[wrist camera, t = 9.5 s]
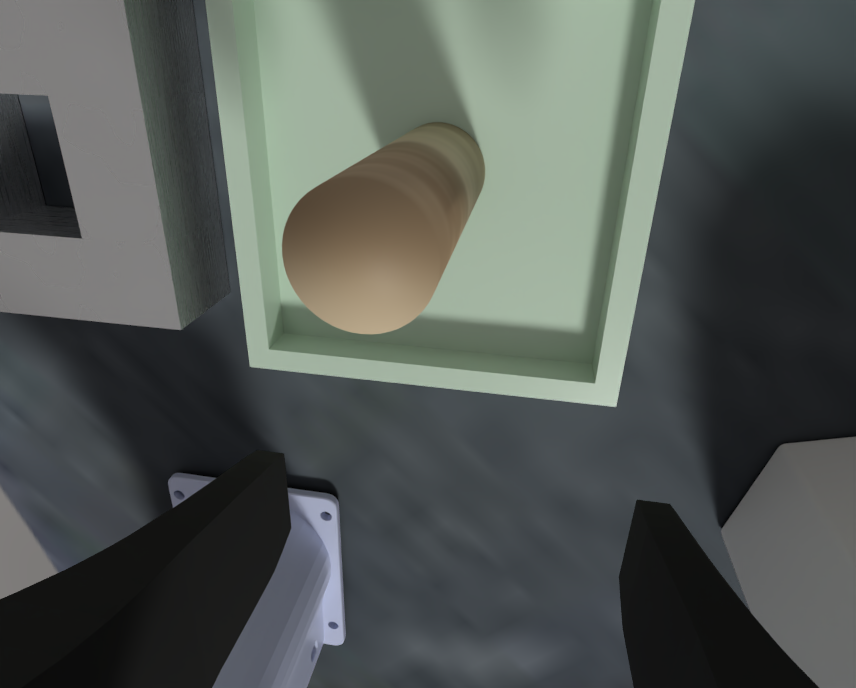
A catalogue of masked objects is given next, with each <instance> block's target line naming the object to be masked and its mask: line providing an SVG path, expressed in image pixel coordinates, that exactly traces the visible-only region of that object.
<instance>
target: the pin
mask: <svg viewBox="0 0 856 688" xmlns="http://www.w3.org/2000/svg"><path fill="white" fill-rule="evenodd" d="M484 180H485V163H484V159H483V155H482V153H481V150H480V148H479V146H478V145H477V143H476V142H475V141H474V139H473V138H472V137H471V136H470V135H469V134H468V133H467V132H465V131H464V130H462V129H461V128H459V127H457V126H455V125H452V124H448V123H443V122H432V123H427V124H424V125H421V126H419V127H417V128H415V129H413V130H411V131H410V132H408V133H406V134H405V135H403V136H401V137H399V138H398V139H396V140H394V141H393V142H391V143H389V144H388V145H386V146H384V147H383V148H381V149H379V150H377V151H376V152H374V153H372V154H371V155H369V156H367V157H366V158H364V159H362V160H361V161H359V162H357V163H355V164H354V165H352V166H350V167H349V168H347V169H345V170H344V171H342V172H340V173H339V174H337V175H335V176H333V177H332V178H330V179H328V180H327V181H325V182H323V183H322V184H320V185H318V186H317V187H315V188H314V189H312V190H311V191H309V192H308V193H306V194H305V195H304V196H303V197H302V198H301V199H300V200H299V201H298V203H297V204H296V205H295V206H294V208H293V210H292V211H291V213H290V215H289V217H288V219H287V222H286V224H285V228H284V232H283V238H282V257H283V263H284V267H285V271H286V274H287V277H288V279H289V282H290V284H291V286H292V287H293V289H294V291H295V293H296V294H297V296H298V297H299V298H300V300H301V301H302V302H303V303H304V304H305V305H306V307H307V308H308V309H309V310H310V311H312V312H313V313H314V314H315V315H316V316H318V317H319V318H320V319H322V320H323V321H325V322H327V323H328V324H330V325H332V326H334V327H337V328H339V329H342V330H345V331H348V332H352V333H358V334H382V333H386V332H390V331H393V330H396V329H399V328H401V327H403V326H405V325H406V324H408V323H410V322H411V321H412V320H414V319H415V318H416V317H417V316H418V315H419V314H420V313H421V312H422V311H423V310H424V309H425V307H426V306H427V305H428V303H429V302H430V300H431V298H432V296H433V294H434V292H435V290H436V288H437V286H438V283H439V281H440V279H441V277H442V275H443V273H444V270H445V268H446V266H447V264H448V262H449V260H450V258H451V255H452V253H453V251H454V249H455V247H456V245H457V242H458V240H459V238H460V236H461V234H462V232H463V230H464V227H465V225H466V223H467V221H468V219H469V217H470V214H471V212H472V210H473V208H474V206H475V204H476V202H477V199H478V197H479V195H480V193H481V190H482V188H483V185H484Z"/></svg>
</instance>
